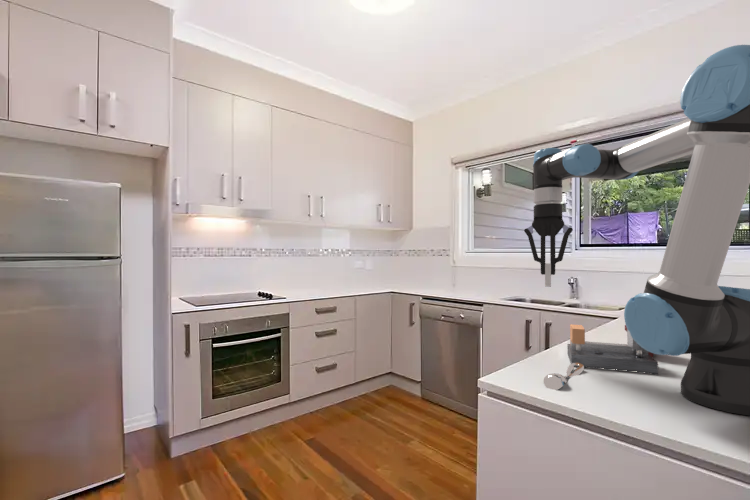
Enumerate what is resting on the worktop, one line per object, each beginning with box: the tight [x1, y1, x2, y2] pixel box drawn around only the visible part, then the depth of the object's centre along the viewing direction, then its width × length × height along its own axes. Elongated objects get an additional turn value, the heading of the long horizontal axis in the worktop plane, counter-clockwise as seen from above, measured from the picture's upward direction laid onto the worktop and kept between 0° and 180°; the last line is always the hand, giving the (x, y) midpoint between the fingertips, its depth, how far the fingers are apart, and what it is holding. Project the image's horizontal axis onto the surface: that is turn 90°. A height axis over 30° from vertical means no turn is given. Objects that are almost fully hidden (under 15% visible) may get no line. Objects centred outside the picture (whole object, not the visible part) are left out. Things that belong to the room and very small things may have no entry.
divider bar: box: [571, 329, 648, 357], centre depth 105 cm, size 6×18×6 cm, turn 68°
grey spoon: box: [543, 363, 585, 391], centre depth 92 cm, size 20×4×5 cm
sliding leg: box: [569, 324, 586, 351], centre depth 108 cm, size 7×3×6 cm, turn 158°
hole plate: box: [567, 343, 659, 375], centre depth 105 cm, size 13×19×3 cm
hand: (547, 286), depth 111 cm, fingers closed
